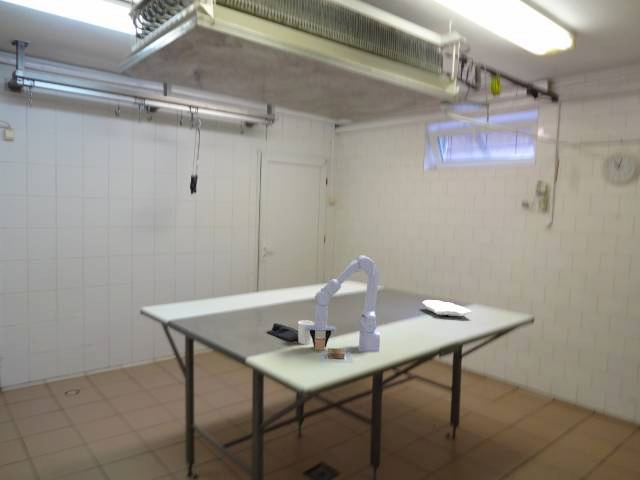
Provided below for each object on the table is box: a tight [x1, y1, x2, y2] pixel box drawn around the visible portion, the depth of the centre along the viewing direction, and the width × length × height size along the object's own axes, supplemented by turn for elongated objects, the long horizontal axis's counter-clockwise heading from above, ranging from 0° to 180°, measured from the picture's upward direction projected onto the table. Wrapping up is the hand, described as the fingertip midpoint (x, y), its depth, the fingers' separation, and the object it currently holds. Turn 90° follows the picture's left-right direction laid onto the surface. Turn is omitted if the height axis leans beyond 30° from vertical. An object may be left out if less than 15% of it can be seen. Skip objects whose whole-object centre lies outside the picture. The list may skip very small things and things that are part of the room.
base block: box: [327, 347, 345, 359], centre depth 204 cm, size 7×7×2 cm
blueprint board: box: [319, 350, 354, 364], centre depth 204 cm, size 14×14×1 cm
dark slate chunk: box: [266, 323, 298, 342], centre depth 235 cm, size 15×22×5 cm
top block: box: [314, 336, 326, 351], centre depth 214 cm, size 4×4×5 cm
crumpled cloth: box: [421, 299, 473, 317], centre depth 294 cm, size 24×35×9 cm
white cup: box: [297, 319, 315, 345], centre depth 223 cm, size 8×8×10 cm
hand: (319, 346), depth 215 cm, fingers closed on top block, 4 cm apart
